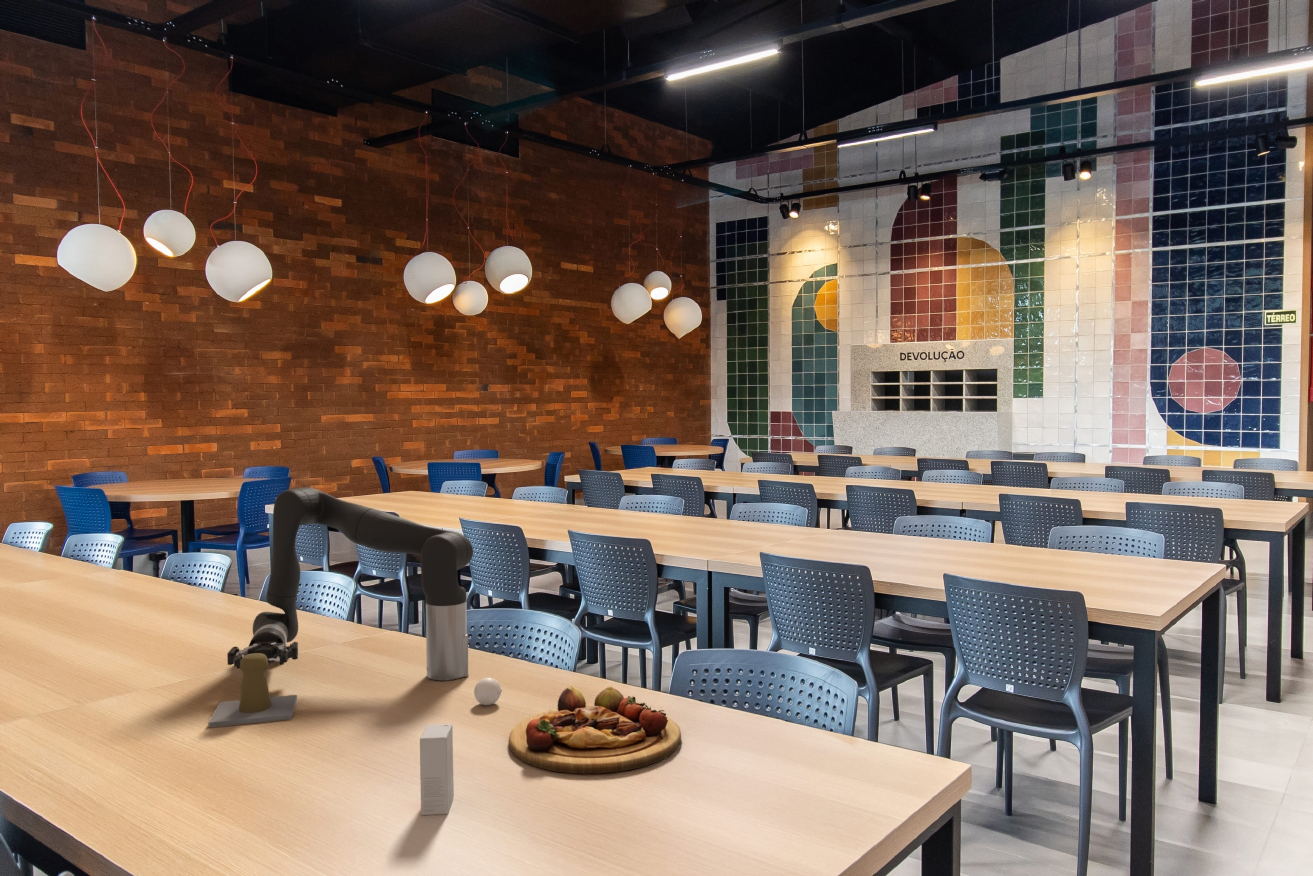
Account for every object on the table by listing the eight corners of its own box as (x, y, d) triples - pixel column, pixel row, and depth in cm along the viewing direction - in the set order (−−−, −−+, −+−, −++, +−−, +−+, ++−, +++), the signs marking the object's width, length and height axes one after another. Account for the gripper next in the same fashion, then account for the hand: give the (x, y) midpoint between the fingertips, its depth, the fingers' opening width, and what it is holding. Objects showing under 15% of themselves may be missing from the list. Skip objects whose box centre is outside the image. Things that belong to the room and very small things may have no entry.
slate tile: (297, 699, 189) (297, 694, 189) (291, 719, 176) (291, 714, 176) (219, 706, 184) (219, 702, 184) (208, 727, 172) (208, 722, 172)
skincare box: (426, 798, 140) (426, 724, 139) (454, 797, 140) (453, 723, 140) (419, 816, 134) (418, 738, 133) (448, 815, 134) (447, 737, 134)
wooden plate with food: (544, 792, 143) (543, 742, 142) (487, 730, 171) (486, 688, 171) (713, 756, 157) (713, 711, 157) (634, 704, 186) (634, 665, 185)
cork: (258, 713, 177) (256, 659, 176) (232, 711, 178) (230, 657, 178) (277, 703, 183) (276, 651, 182) (252, 701, 184) (251, 649, 184)
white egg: (495, 710, 182) (495, 683, 181) (469, 708, 183) (469, 681, 182) (509, 698, 189) (508, 672, 189) (484, 696, 190) (483, 670, 190)
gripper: (234, 629, 202) (223, 647, 187) (301, 625, 207) (295, 642, 191) (235, 662, 203) (224, 682, 187) (301, 656, 207) (296, 676, 192)
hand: (260, 662), depth 189 cm, fingers open, 8 cm apart
